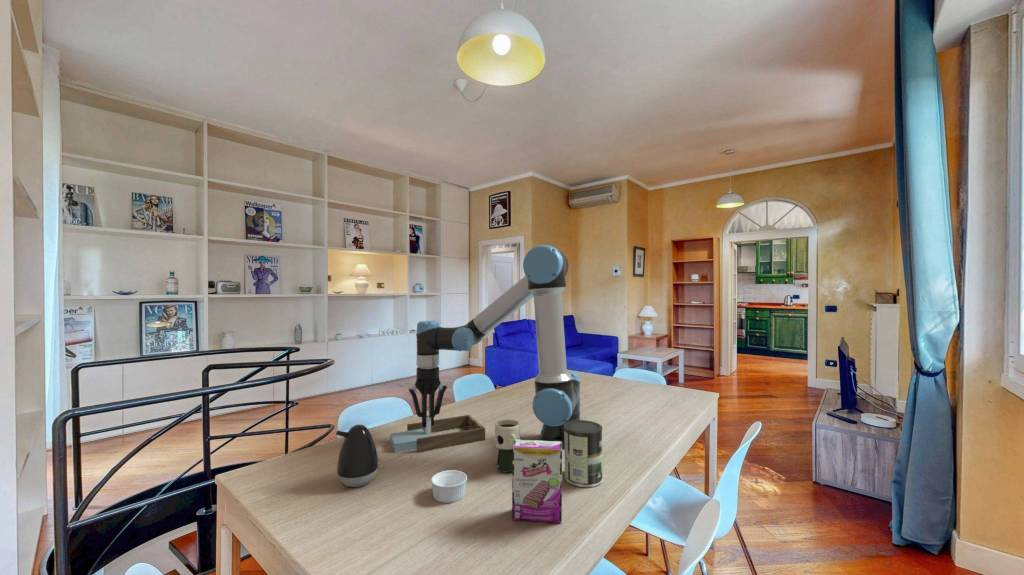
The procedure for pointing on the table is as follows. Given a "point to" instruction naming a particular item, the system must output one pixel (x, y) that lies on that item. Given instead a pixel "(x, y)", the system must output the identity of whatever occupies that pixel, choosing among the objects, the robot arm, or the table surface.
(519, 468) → the candy bar box
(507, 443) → the character mug
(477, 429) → the walnut box
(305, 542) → the table surface
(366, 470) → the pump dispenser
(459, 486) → the ramekin
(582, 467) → the coffee can
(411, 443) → the cover plate
